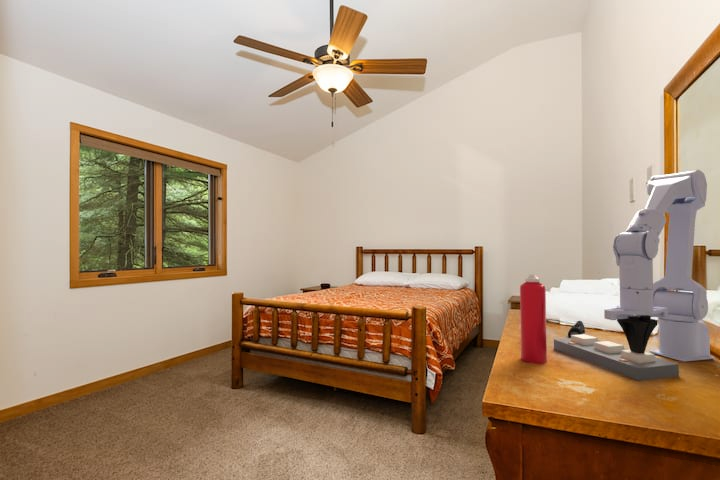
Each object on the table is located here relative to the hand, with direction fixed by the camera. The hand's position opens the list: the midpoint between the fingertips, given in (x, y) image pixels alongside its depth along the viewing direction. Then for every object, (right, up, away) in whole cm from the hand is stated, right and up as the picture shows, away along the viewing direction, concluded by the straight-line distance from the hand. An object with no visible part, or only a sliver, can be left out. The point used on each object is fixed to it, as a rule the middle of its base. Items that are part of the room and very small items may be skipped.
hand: (637, 352), depth 78 cm
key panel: (-1, -4, +7) cm, 8 cm away
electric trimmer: (+7, -5, +33) cm, 35 cm away
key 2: (0, -4, 0) cm, 4 cm away
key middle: (-1, -4, +7) cm, 8 cm away
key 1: (-3, -4, +14) cm, 15 cm away
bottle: (-18, -5, +8) cm, 20 cm away
